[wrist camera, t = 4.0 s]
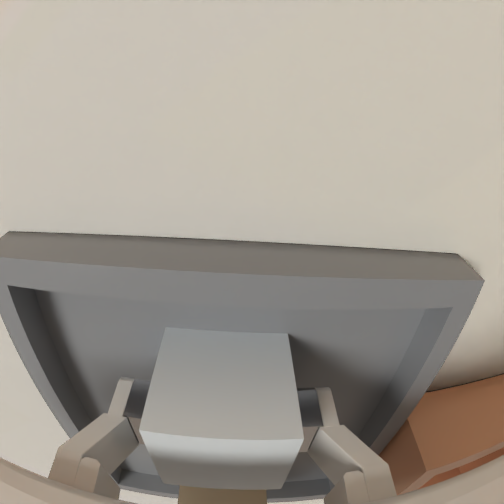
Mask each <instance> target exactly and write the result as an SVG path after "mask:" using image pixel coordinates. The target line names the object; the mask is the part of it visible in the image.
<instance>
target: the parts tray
mask: <svg viewBox="0 0 504 504" xmlns="http://www.w3.org/2000/svg"><path fill="white" fill-rule="evenodd" d="M484 281H485V280H484V279H483V278H482V277H481V276H480V275H479V274H478V273H477V272H476V271H475V270H474V269H473V268H472V267H471V266H470V265H469V264H468V263H467V262H465V261H464V260H463V259H462V258H461V257H460V256H459V255H458V254H451V253H436V252H421V251H406V250H390V249H374V248H357V247H340V246H323V245H305V244H287V243H268V242H249V241H230V240H209V239H188V238H167V237H144V236H120V235H95V234H69V233H41V232H10V231H9V232H7V233H6V234H5V235H4V236H2V237H1V238H0V314H1V317H2V319H3V322H4V324H5V326H6V328H7V331H8V333H9V335H10V337H11V339H12V341H13V344H14V346H15V348H16V350H17V352H18V354H19V356H20V358H21V360H22V362H23V364H24V365H25V367H26V369H27V371H28V373H29V375H30V376H31V378H32V380H33V382H34V384H35V385H36V387H37V389H38V390H39V392H40V394H41V395H42V397H43V399H44V400H45V402H46V404H47V405H48V407H49V408H50V410H51V411H52V413H53V414H54V416H55V417H56V419H57V420H58V422H59V423H60V425H61V426H62V428H63V429H64V431H65V432H66V433H67V435H68V436H69V438H72V437H73V436H74V435H76V434H77V433H78V432H80V431H81V430H82V429H84V428H85V427H86V426H87V425H89V424H90V423H91V422H93V421H94V420H95V419H97V418H98V417H99V416H100V415H102V414H103V413H107V414H108V411H109V408H110V405H111V402H112V399H113V396H114V393H115V390H116V387H117V384H118V381H119V379H120V378H121V377H127V378H133V379H139V380H146V381H151V379H152V375H153V372H154V368H155V364H156V360H157V357H158V353H159V349H160V346H161V342H162V339H163V335H164V332H165V328H166V327H169V328H181V329H195V330H211V331H229V332H252V333H288V338H289V344H290V350H291V356H292V363H293V369H294V375H295V382H296V388H313V387H314V388H321V387H329V388H330V389H331V392H332V396H333V400H334V404H335V408H336V412H337V416H338V420H339V424H340V425H345V426H346V427H347V428H348V429H349V430H350V431H351V432H352V433H353V434H354V435H356V436H357V437H358V438H359V439H360V440H361V441H362V442H363V443H365V444H366V445H367V446H368V447H369V448H370V449H371V450H372V451H374V452H375V453H376V454H377V455H379V454H380V453H381V452H382V450H383V449H384V448H385V447H386V445H387V444H388V443H389V442H390V440H391V439H392V438H393V437H394V435H395V434H396V433H397V432H398V430H399V429H400V428H401V426H402V425H403V424H404V422H405V421H406V420H407V418H408V417H409V415H410V414H411V413H412V411H413V410H414V408H415V407H416V406H417V404H418V403H419V401H420V400H421V398H422V397H423V395H424V394H425V392H426V391H427V389H428V388H429V386H430V385H431V383H432V381H433V380H434V378H435V377H436V375H437V373H438V372H439V370H440V368H441V367H442V365H443V363H444V362H445V360H446V358H447V356H448V355H449V353H450V351H451V349H452V348H453V346H454V344H455V342H456V340H457V338H458V336H459V334H460V333H461V331H462V329H463V327H464V325H465V323H466V321H467V319H468V317H469V315H470V312H471V310H472V308H473V306H474V304H475V302H476V300H477V297H478V295H479V293H480V290H481V288H482V286H483V283H484ZM110 477H111V478H112V479H113V480H114V481H115V483H116V484H117V485H118V486H119V488H120V489H125V490H129V491H134V492H139V493H145V494H151V495H157V496H163V497H170V498H178V497H179V487H180V485H172V484H165V483H163V482H162V480H161V478H160V476H159V474H158V471H157V469H156V467H155V465H154V463H153V461H152V459H151V457H150V454H149V452H148V450H147V448H146V446H145V444H139V445H138V446H137V448H136V449H135V450H134V451H133V452H132V453H131V454H130V455H129V456H128V457H127V458H126V459H125V460H124V461H123V462H122V463H121V464H120V465H119V466H118V467H117V468H116V469H115V470H114V471H113V472H112V473H111V475H110ZM334 486H335V485H334V484H333V483H332V482H331V480H330V479H329V478H328V477H327V476H326V475H325V473H324V472H323V471H322V470H321V469H320V468H319V466H318V465H317V464H316V463H315V462H314V460H313V459H312V458H311V457H310V456H309V454H308V453H307V452H298V454H297V456H296V458H295V461H294V463H293V465H292V467H291V469H290V471H289V474H288V476H287V478H286V480H285V482H284V484H283V486H282V488H281V489H269V490H266V495H267V503H269V502H290V501H303V500H313V499H322V498H325V496H326V495H327V494H328V493H329V492H330V491H331V490H332V489H333V487H334Z"/></svg>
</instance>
